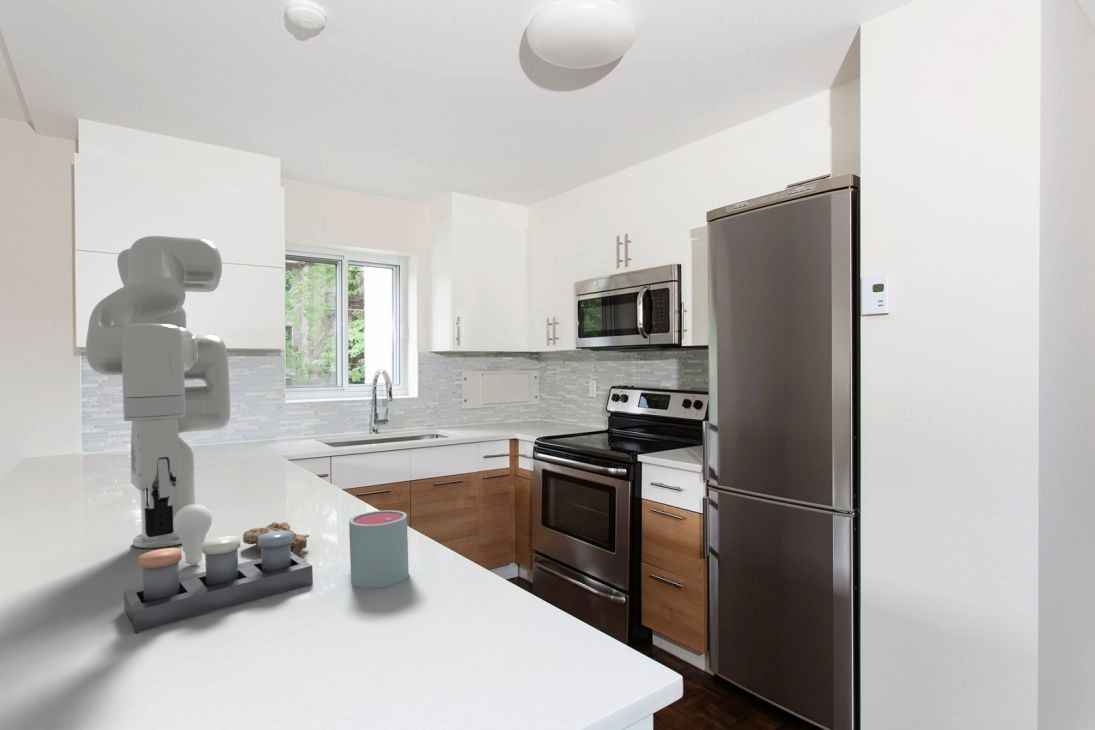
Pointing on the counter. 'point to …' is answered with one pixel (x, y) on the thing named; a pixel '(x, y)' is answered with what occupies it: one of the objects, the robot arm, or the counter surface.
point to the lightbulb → (192, 530)
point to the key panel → (214, 593)
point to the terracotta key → (160, 573)
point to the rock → (253, 534)
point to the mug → (378, 548)
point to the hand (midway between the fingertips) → (159, 534)
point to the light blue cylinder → (275, 550)
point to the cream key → (221, 559)
